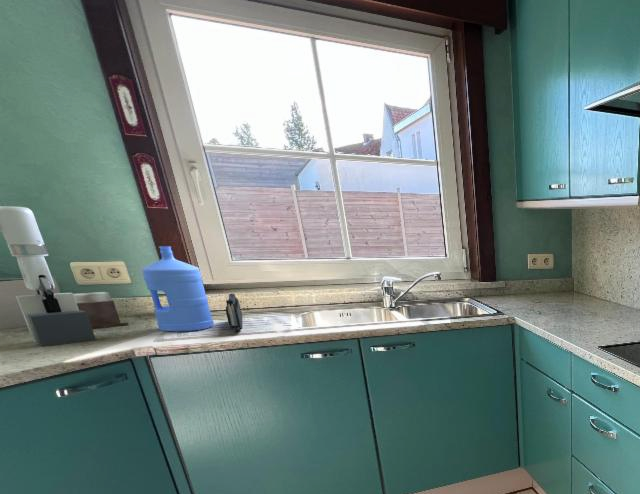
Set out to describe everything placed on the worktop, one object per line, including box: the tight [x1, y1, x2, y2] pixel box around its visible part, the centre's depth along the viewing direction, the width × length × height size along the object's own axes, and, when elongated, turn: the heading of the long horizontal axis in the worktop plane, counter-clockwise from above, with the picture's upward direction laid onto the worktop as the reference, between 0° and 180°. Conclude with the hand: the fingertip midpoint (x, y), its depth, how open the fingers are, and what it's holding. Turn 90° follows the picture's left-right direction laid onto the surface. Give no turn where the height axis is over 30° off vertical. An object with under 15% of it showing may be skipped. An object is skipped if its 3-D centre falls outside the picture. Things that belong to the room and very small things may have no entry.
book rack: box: [73, 291, 129, 330], centre depth 174 cm, size 14×12×11 cm
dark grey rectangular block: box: [27, 310, 97, 347], centre depth 152 cm, size 12×4×9 cm, turn 147°
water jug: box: [141, 245, 215, 333], centre depth 172 cm, size 16×16×28 cm
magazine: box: [225, 293, 244, 334], centre depth 181 cm, size 17×3×30 cm
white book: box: [15, 292, 79, 344], centre depth 154 cm, size 12×2×14 cm, turn 147°
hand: (51, 310), depth 153 cm, fingers open, 6 cm apart
